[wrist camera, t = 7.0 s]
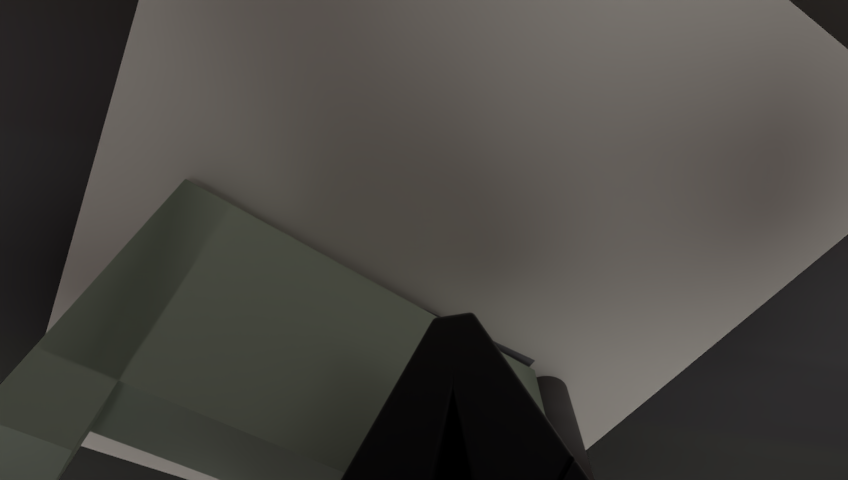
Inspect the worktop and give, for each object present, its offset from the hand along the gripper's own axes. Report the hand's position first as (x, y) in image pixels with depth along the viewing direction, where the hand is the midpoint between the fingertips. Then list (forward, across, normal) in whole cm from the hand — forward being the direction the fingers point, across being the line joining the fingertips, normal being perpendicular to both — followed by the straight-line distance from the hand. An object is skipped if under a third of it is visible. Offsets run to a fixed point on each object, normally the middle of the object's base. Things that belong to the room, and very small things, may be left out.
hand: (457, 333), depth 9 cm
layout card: (+3, +2, +2) cm, 4 cm away
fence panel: (+3, +2, +1) cm, 4 cm away
